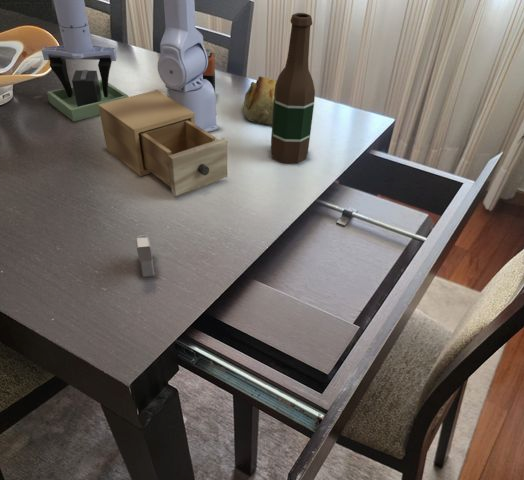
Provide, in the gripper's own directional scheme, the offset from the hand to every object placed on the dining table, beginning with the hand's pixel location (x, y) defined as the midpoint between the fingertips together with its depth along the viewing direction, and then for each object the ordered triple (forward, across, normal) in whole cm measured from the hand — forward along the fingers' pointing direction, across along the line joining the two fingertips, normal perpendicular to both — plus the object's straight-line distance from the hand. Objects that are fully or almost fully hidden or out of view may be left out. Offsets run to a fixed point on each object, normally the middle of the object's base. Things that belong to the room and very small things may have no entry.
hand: (88, 95), depth 107 cm
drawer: (+1, +20, -33) cm, 39 cm away
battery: (+2, +25, +4) cm, 25 cm away
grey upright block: (+2, +14, -60) cm, 62 cm away
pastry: (+2, +40, -6) cm, 40 cm away
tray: (+2, 0, 0) cm, 2 cm away
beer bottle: (+2, +41, -24) cm, 48 cm away
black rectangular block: (+1, 0, 0) cm, 1 cm away
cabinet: (+2, +14, -23) cm, 27 cm away
